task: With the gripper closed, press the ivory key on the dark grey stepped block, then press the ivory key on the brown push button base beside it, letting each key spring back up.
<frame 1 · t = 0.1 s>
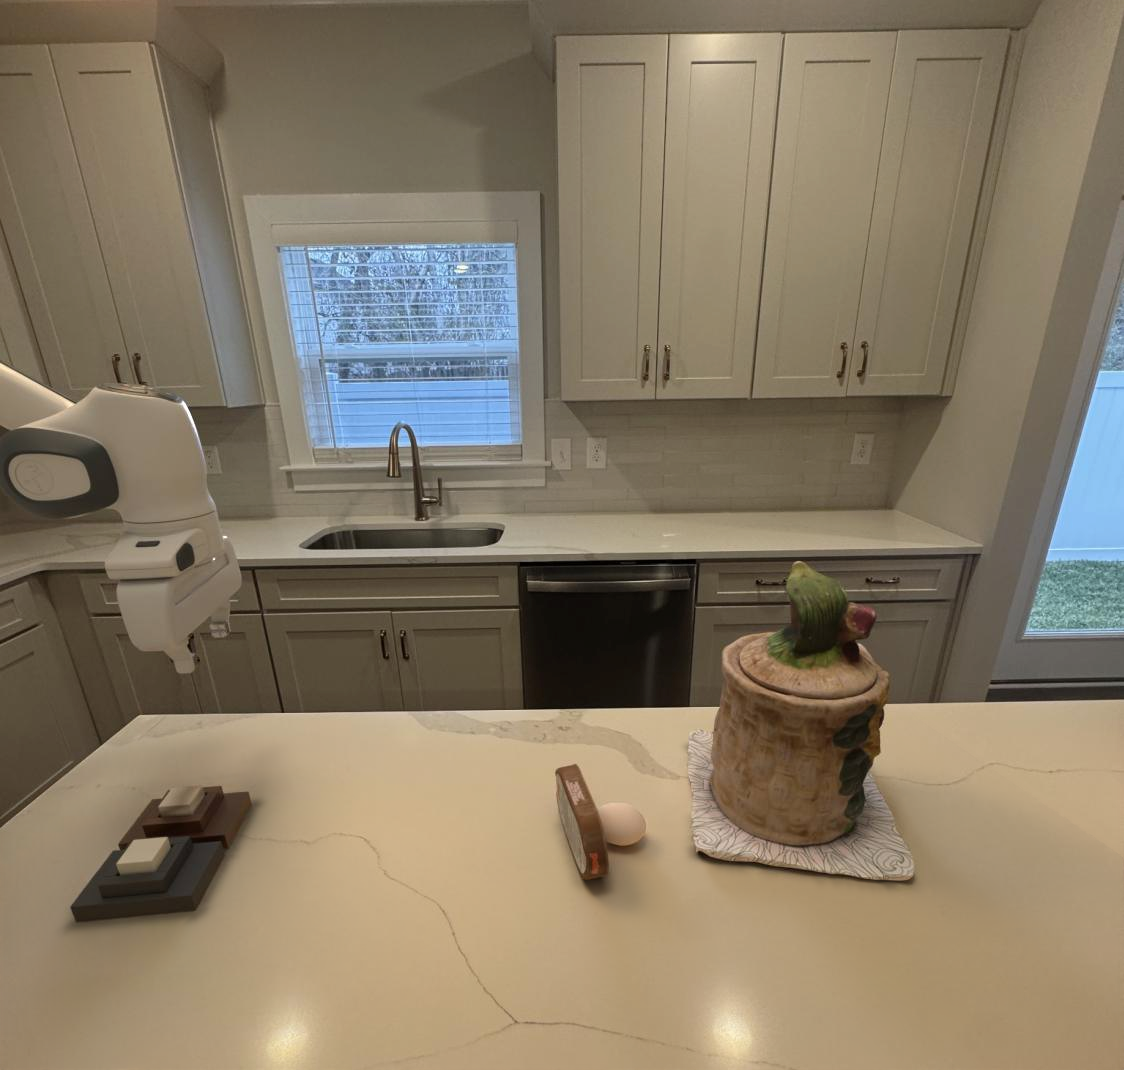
hand: (206, 651, 73), 23 cm above the table, tool pointing down, fingers open, 8 cm apart
cookie jar: (783, 803, 80), on the table
key c: (144, 856, 67), point 4 cm above the table, slide at 0.1 cm
egg: (647, 828, 73), point 2 cm above the table
dark grey stepped block: (155, 886, 69), on the table
key e: (182, 801, 75), point 4 cm above the table, slide at 0.1 cm
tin: (577, 847, 74), on the table
brown push button base: (191, 830, 77), on the table
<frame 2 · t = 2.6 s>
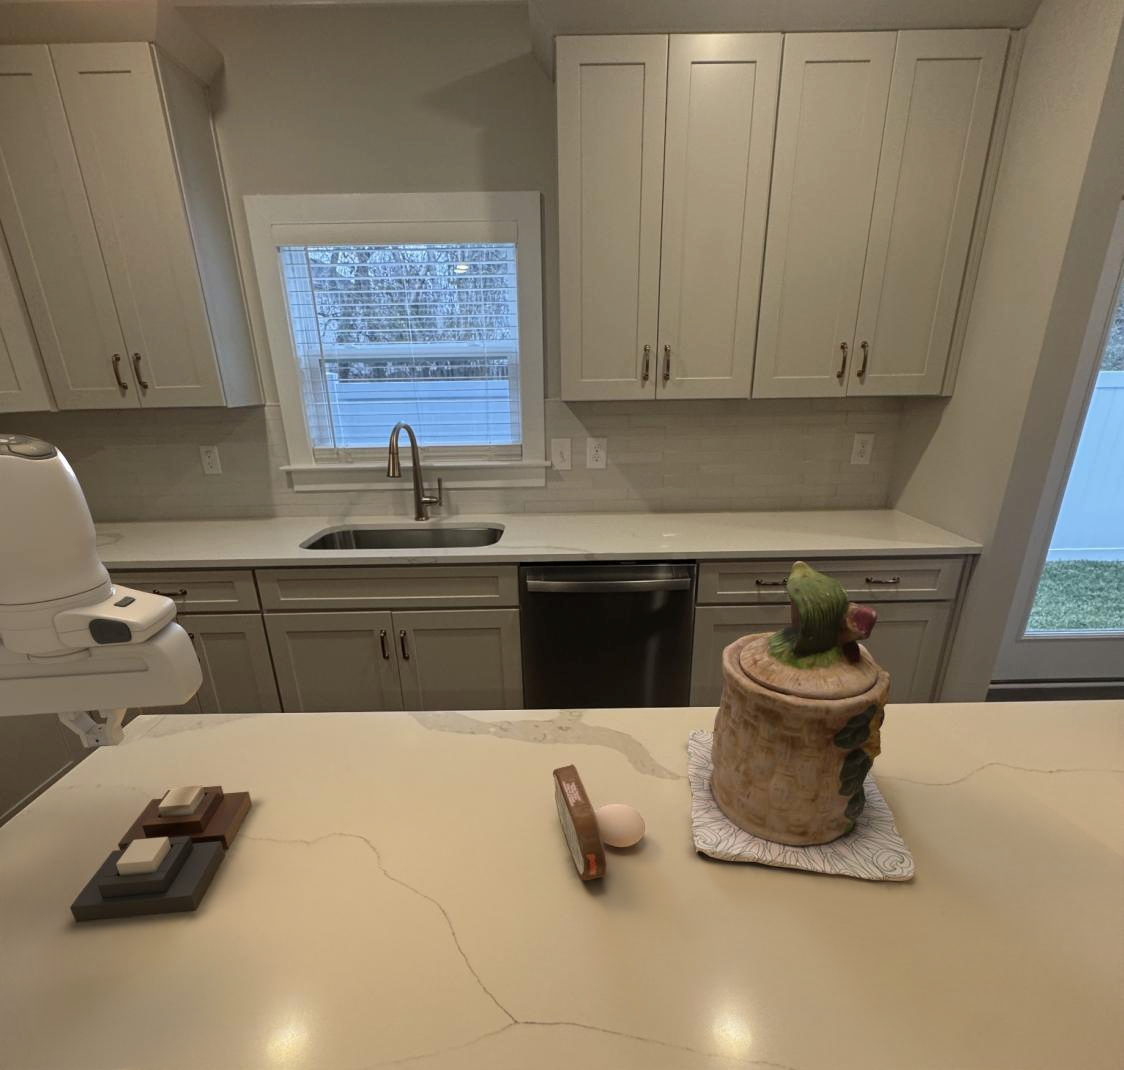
hand: (105, 743, 62), 19 cm above the table, tool pointing down, fingers closed
nothing on the table moved.
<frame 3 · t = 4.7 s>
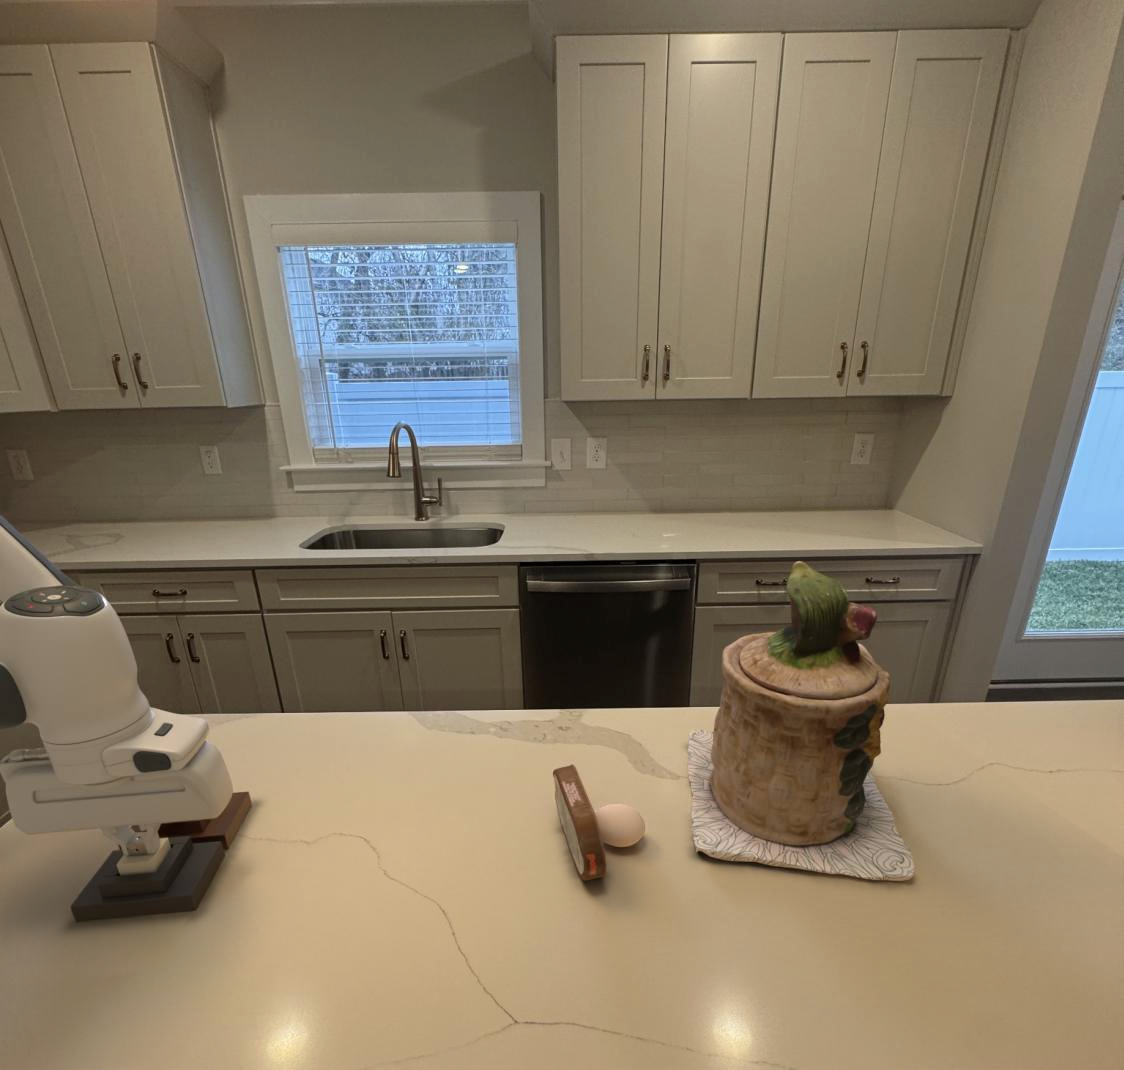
hand: (143, 850, 67), 5 cm above the table, tool pointing down, fingers closed, pressing on key c
key c: (144, 857, 67), point 4 cm above the table, slide at 0.0 cm, touching gripper
everything else where it was.
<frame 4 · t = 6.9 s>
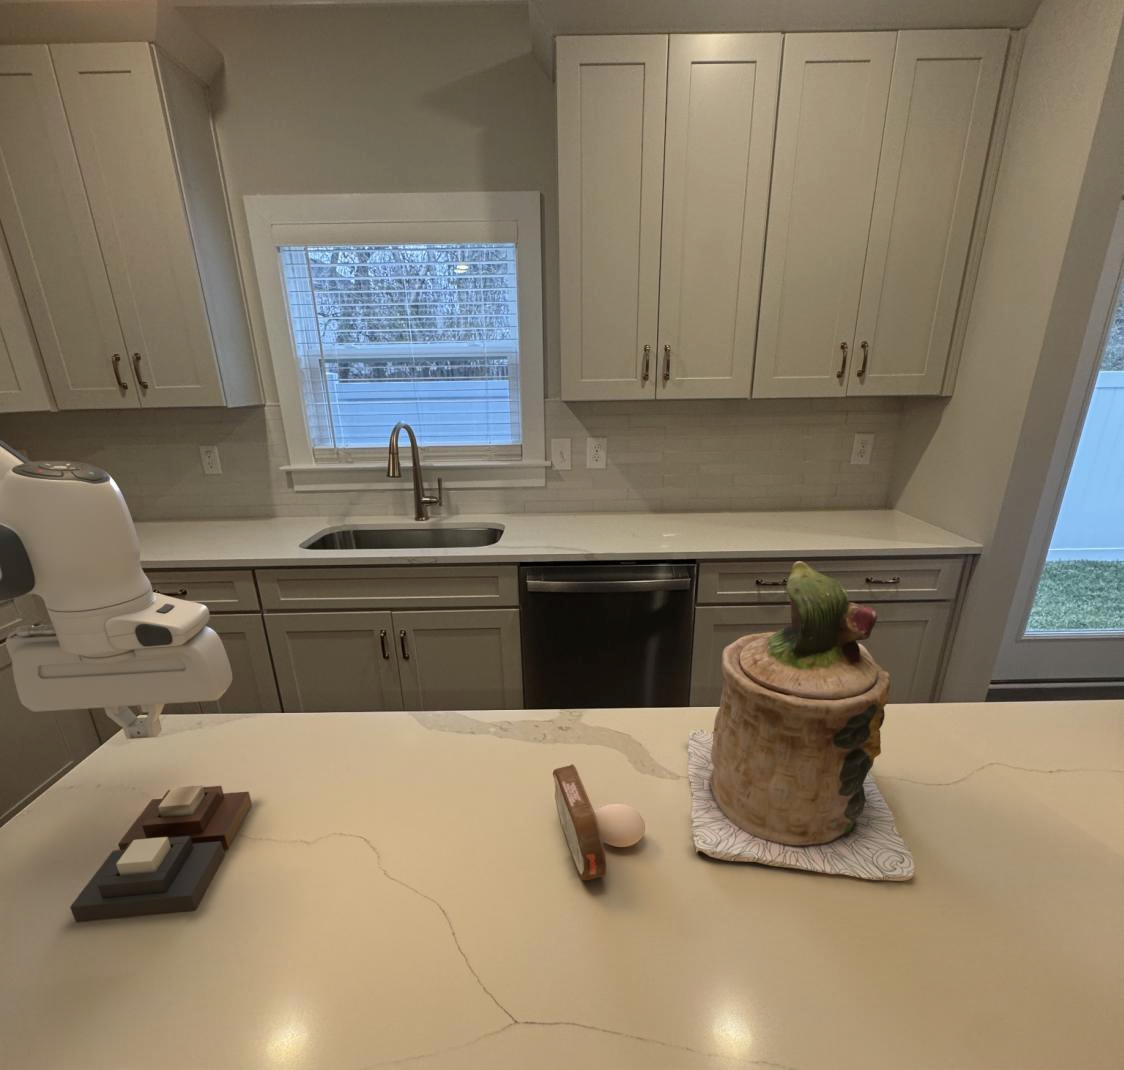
hand: (145, 735, 69), 16 cm above the table, tool pointing down, fingers closed
key c: (144, 856, 67), point 4 cm above the table, slide at 0.1 cm
everything else where it was.
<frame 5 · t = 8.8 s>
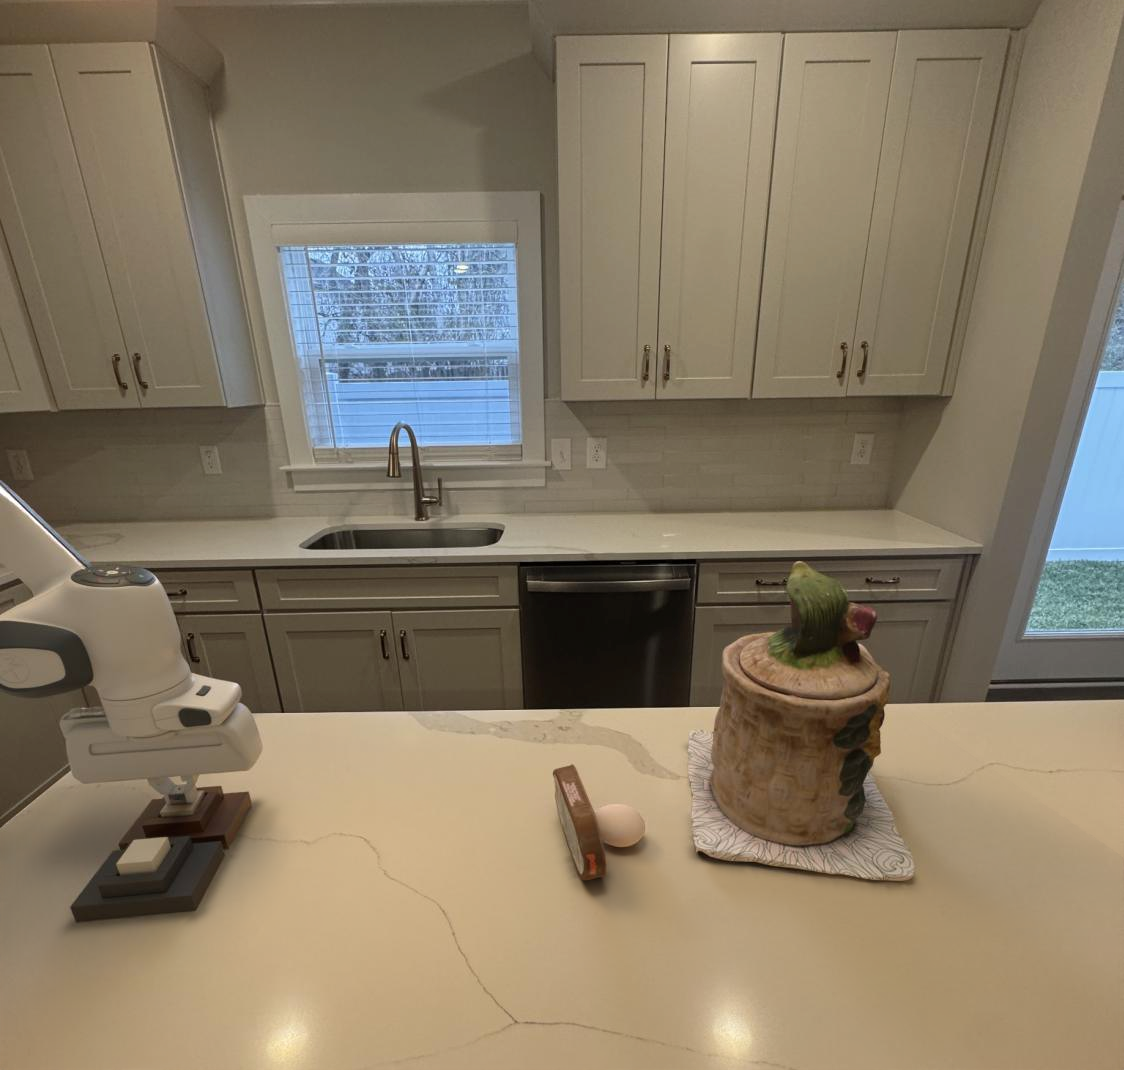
hand: (183, 800, 75), 5 cm above the table, tool pointing down, fingers closed, pressing on key e
key e: (183, 806, 76), point 4 cm above the table, slide at -0.7 cm, touching gripper
everything else where it was.
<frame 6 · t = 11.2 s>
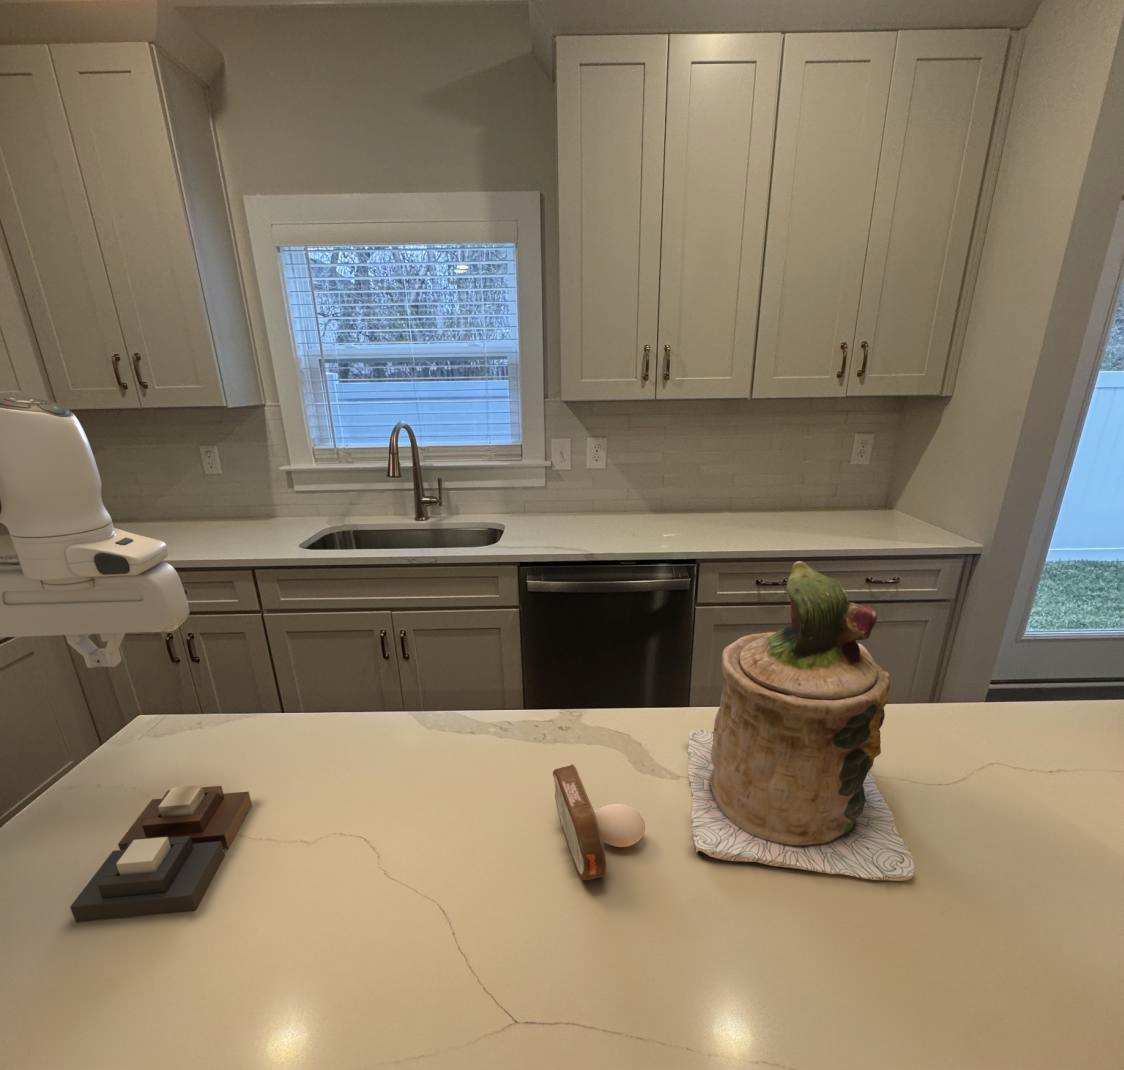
hand: (105, 665, 73), 22 cm above the table, tool pointing down, fingers closed
key e: (182, 801, 75), point 4 cm above the table, slide at 0.1 cm
everything else where it was.
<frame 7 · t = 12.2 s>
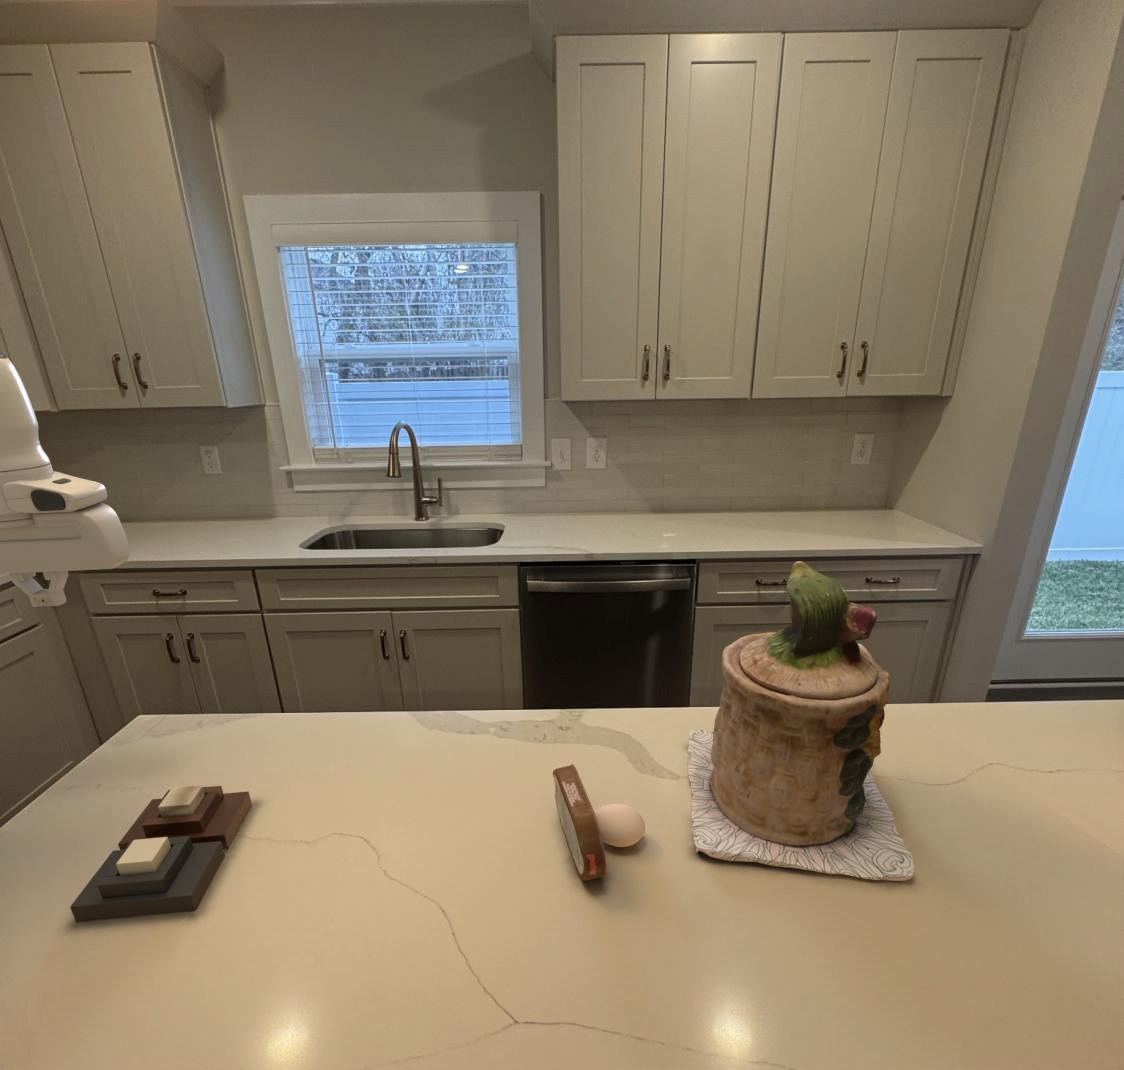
hand: (50, 604, 76), 27 cm above the table, tool pointing down, fingers closed
nothing on the table moved.
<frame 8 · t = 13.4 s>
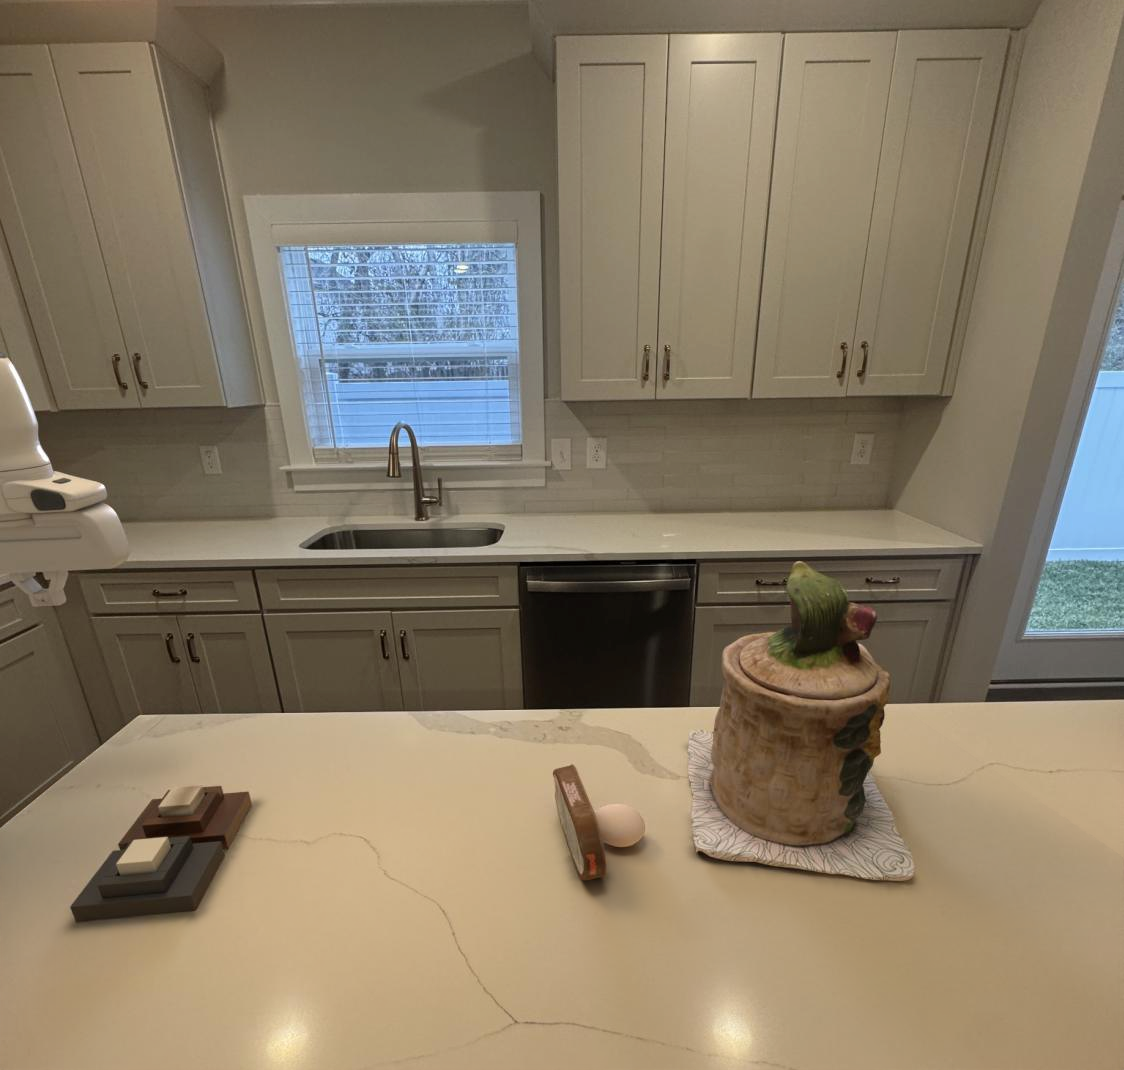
hand: (50, 604, 76), 27 cm above the table, tool pointing down, fingers closed
nothing on the table moved.
at the end: key c pushed in 1.1 cm at the most during the clip, back to where it started at the end; key e pushed in 1.1 cm at the most during the clip, back to where it started at the end; key e slide at 0.1 cm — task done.
